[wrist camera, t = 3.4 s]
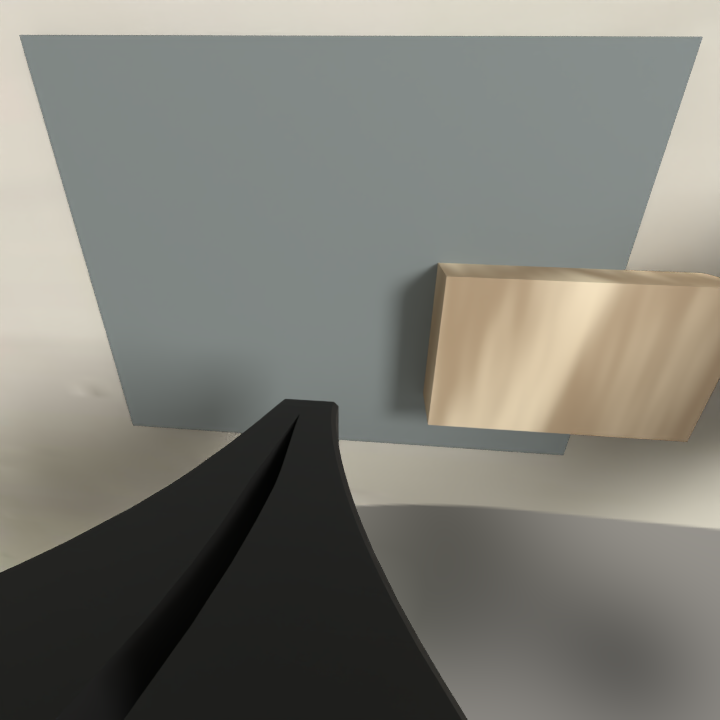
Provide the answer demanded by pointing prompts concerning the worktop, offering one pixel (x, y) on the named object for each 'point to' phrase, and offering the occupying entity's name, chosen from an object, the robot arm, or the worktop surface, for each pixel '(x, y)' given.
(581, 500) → the worktop surface
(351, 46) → the rubber mat
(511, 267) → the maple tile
